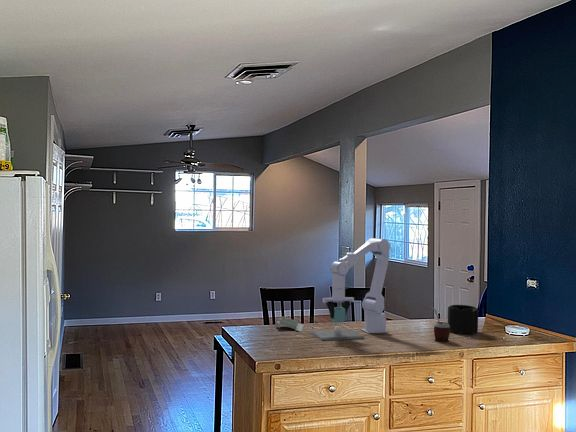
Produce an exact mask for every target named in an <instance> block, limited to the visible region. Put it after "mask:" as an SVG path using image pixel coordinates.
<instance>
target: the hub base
mask: <svg viewBox="0 0 576 432" xmlns="http://www.w3.org/2000/svg"><path fill="white" fill-rule="evenodd" d="M311 335H313V336H314V337H316V338H317V339H319V340H321V341H339V340H341V341H342V340H343V341H344V340H358V339H359V340H360V339H361V340H362V339H365V335H364V334H361V333H359V332H358V331H356V330H354V329H342V327H341V326H339V325H335V326H334V327H333V330H332V329H330V330H328V329H327V330H312V331H311Z"/></svg>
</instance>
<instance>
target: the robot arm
mask: <svg viewBox="0 0 576 432" xmlns="http://www.w3.org/2000/svg"><path fill="white" fill-rule="evenodd" d="M390 249H391V244H390V242H389V241H388V239H386V238H374V237H370V238H369V239H368V240H366V241H365V243H364V244H362V245H361V246H360V247H358V249H357V250H355V251H354V252H346V255H344V256H343V257H342V258H339V259H338V261H333V262H332V263H331V265H330V267H329V271H330V273H331V277H332V282H331V283H332V285H331V286H332V287H331V290H332V291H331V292H332V293H331V297H322V303H323V304H326V307H327V308H328V312H329V315H330V319H331V318H332V319H334V307H336V305H335V303H341V307H342V308H344V309H345V318H346V316H347V313H348V310H349V308H350V307H351V303H354V302H355V297H353V296H351V297H350V296H349V297H348V296H346V275H347V274H348V272H349V269H351V268H352V267H354V266H355V265H356V264H357V263H358V261H359V259H361V258H362V257H364V256H365V255H367V254H368V253H369V252H371V254H372V255H374V256H375V259H376V263H375V267H374V271H373V274H372V275H373V276H372V279H371V285H370V288H369V291H368V292H366V293H365V297H364V298H363V300H362V302H361V306H362V309H363V310H364V312H365V313H364V328H361V330H362V331H363V332H365V333H367V334H382V333H387V326H386V325H387V317H386V313H385V312H383V311H384V310H385V297H384V296H383V294H382V293H383V289H384V288H383V287H384V283H385V278H386V275H387V269H388V265H389V261H390Z"/></svg>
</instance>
